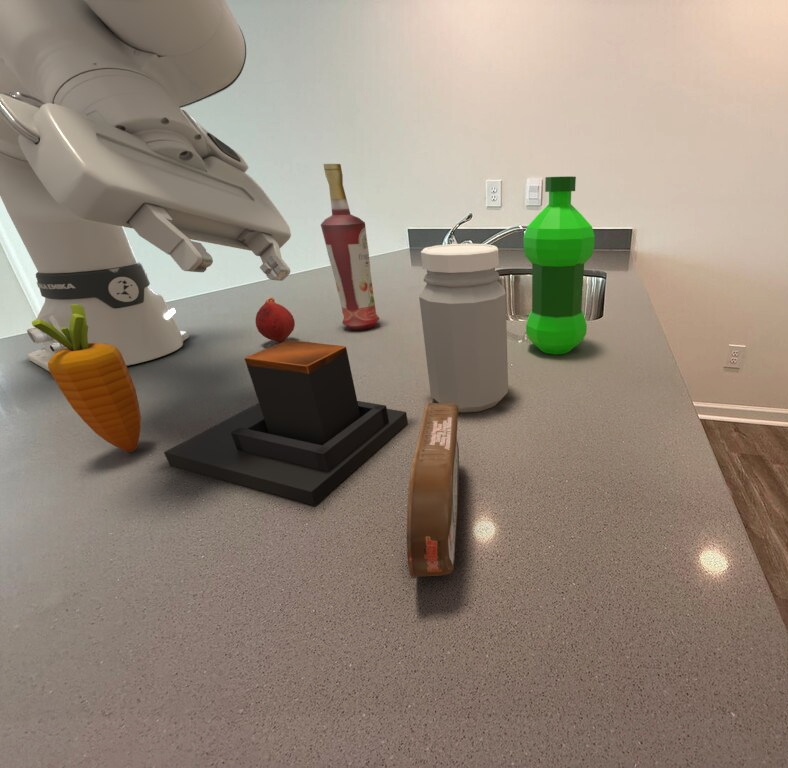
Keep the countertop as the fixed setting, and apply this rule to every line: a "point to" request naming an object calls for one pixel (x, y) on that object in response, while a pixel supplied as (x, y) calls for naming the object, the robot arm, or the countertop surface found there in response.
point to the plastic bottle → (558, 270)
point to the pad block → (304, 390)
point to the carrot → (95, 382)
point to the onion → (274, 321)
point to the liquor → (348, 256)
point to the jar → (464, 325)
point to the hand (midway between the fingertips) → (246, 272)
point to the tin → (434, 493)
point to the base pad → (286, 453)
